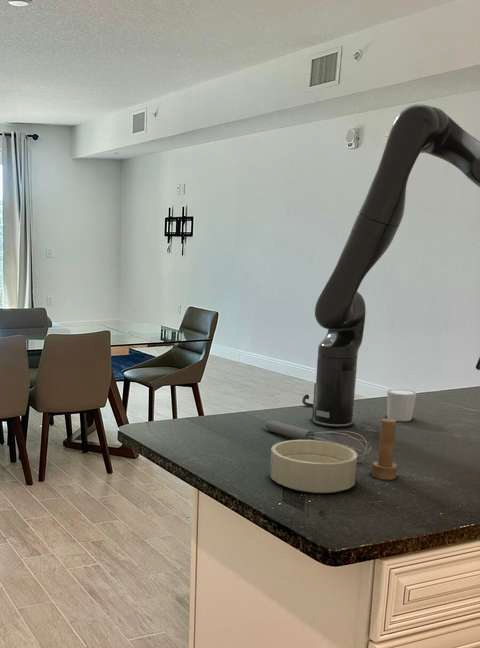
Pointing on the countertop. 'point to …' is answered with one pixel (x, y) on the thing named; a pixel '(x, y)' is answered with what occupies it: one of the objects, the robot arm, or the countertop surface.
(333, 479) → the bowl
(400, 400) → the white cup
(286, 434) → the kitchen whisk
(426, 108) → the robot arm
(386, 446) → the tan wooden post
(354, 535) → the countertop surface
